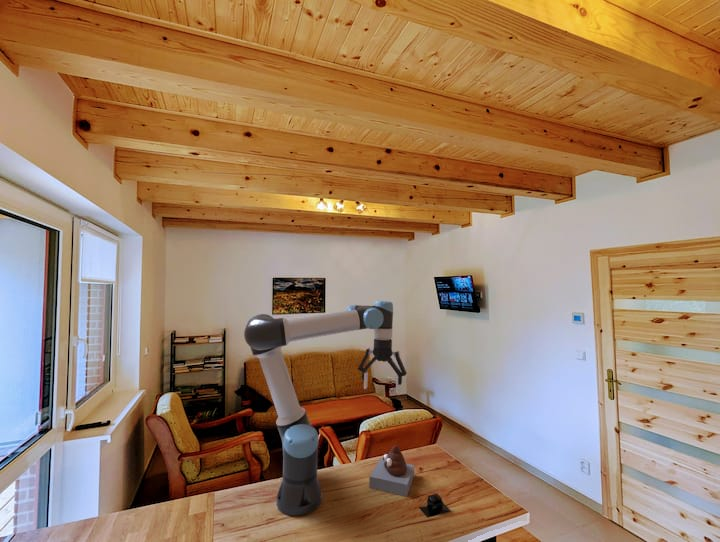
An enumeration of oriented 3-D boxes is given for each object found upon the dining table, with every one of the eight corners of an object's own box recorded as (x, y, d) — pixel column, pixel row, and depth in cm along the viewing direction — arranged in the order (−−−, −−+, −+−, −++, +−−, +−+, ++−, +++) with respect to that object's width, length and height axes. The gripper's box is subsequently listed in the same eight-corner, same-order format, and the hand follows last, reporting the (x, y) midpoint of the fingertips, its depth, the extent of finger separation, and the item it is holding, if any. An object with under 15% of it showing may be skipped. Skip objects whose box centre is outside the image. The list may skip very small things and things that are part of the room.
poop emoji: (410, 475, 123) (411, 449, 124) (389, 478, 121) (389, 452, 121) (400, 461, 133) (400, 437, 133) (379, 464, 130) (380, 440, 131)
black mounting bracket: (424, 523, 105) (424, 507, 105) (412, 508, 112) (412, 494, 112) (456, 513, 109) (456, 499, 110) (443, 500, 116) (443, 486, 116)
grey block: (369, 487, 122) (369, 476, 122) (379, 468, 135) (380, 458, 135) (406, 496, 117) (407, 484, 117) (414, 475, 130) (414, 465, 130)
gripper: (414, 339, 138) (412, 391, 136) (357, 334, 146) (355, 383, 144) (411, 342, 130) (409, 397, 129) (351, 337, 138) (349, 388, 137)
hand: (381, 390), depth 137 cm, fingers open, 13 cm apart
